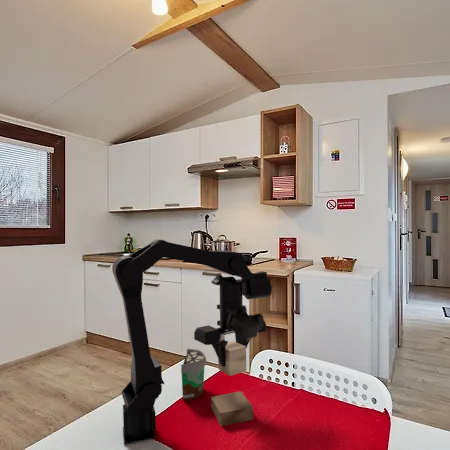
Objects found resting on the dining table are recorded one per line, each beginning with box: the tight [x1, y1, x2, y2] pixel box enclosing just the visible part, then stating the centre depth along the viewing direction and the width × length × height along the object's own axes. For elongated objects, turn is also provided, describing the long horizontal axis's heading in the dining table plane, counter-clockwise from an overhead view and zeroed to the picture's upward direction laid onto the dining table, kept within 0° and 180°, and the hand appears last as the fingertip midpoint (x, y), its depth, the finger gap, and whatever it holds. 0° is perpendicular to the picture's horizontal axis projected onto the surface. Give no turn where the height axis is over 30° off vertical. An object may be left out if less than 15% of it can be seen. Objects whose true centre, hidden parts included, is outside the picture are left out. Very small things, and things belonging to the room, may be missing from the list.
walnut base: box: [210, 391, 254, 427], centre depth 84 cm, size 8×8×3 cm
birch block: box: [217, 340, 247, 376], centre depth 87 cm, size 5×5×6 cm
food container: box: [180, 348, 208, 402], centre depth 96 cm, size 12×6×10 cm, turn 179°
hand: (232, 363), depth 87 cm, fingers closed on birch block, 5 cm apart
